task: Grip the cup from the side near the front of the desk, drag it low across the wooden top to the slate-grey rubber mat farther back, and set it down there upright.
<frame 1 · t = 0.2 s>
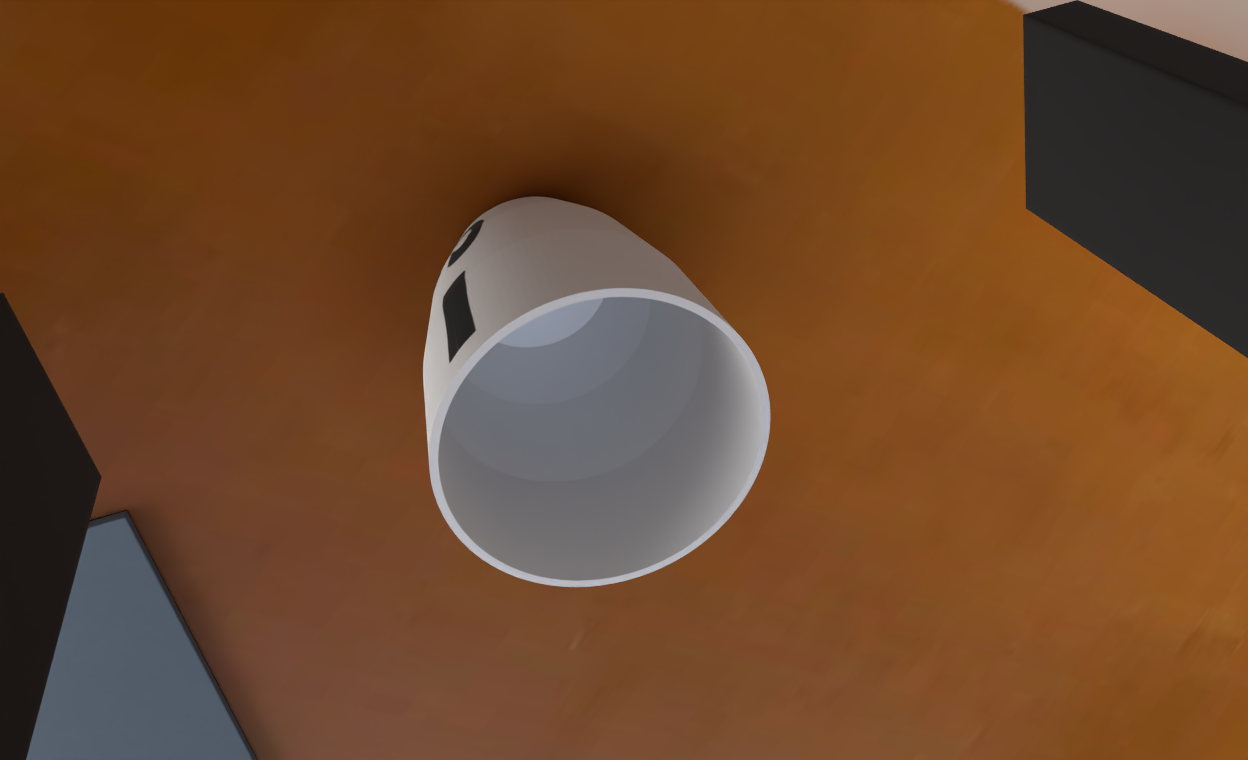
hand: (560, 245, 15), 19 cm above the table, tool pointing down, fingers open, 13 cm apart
cup: (532, 272, 36), on the table
mat: (32, 723, 39), on the table
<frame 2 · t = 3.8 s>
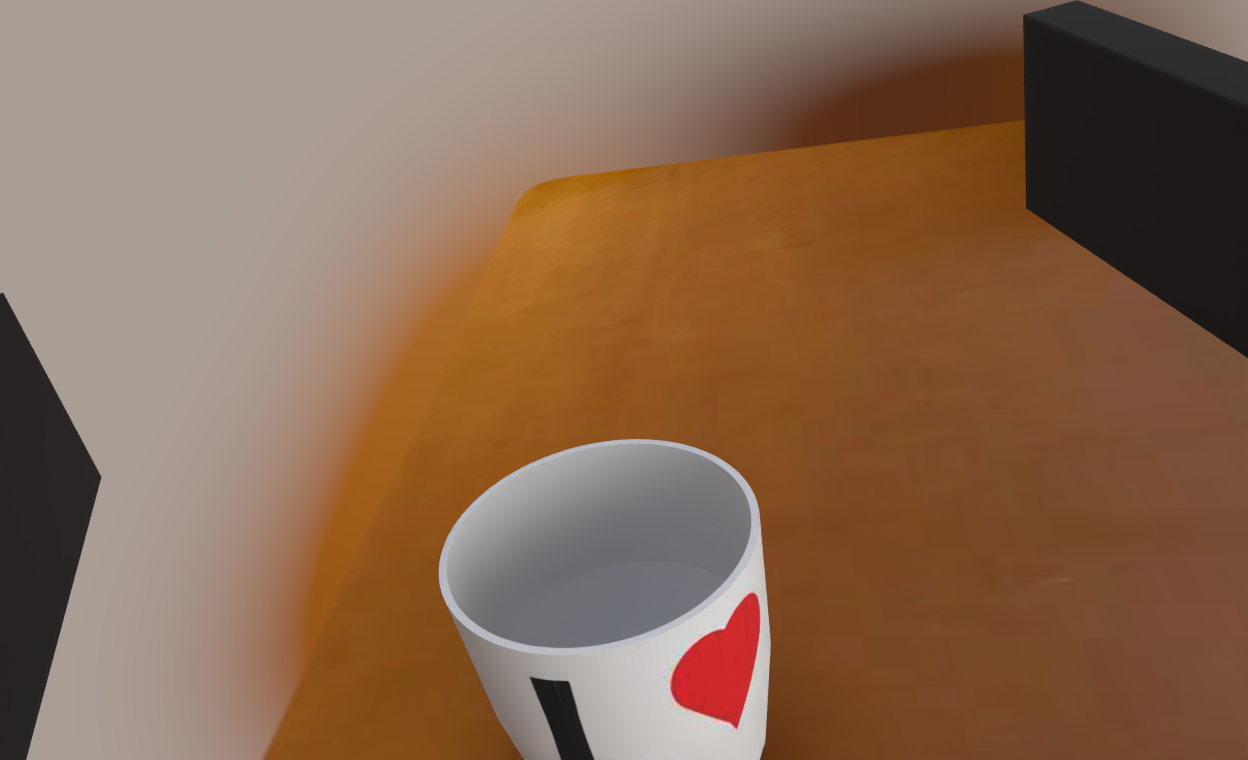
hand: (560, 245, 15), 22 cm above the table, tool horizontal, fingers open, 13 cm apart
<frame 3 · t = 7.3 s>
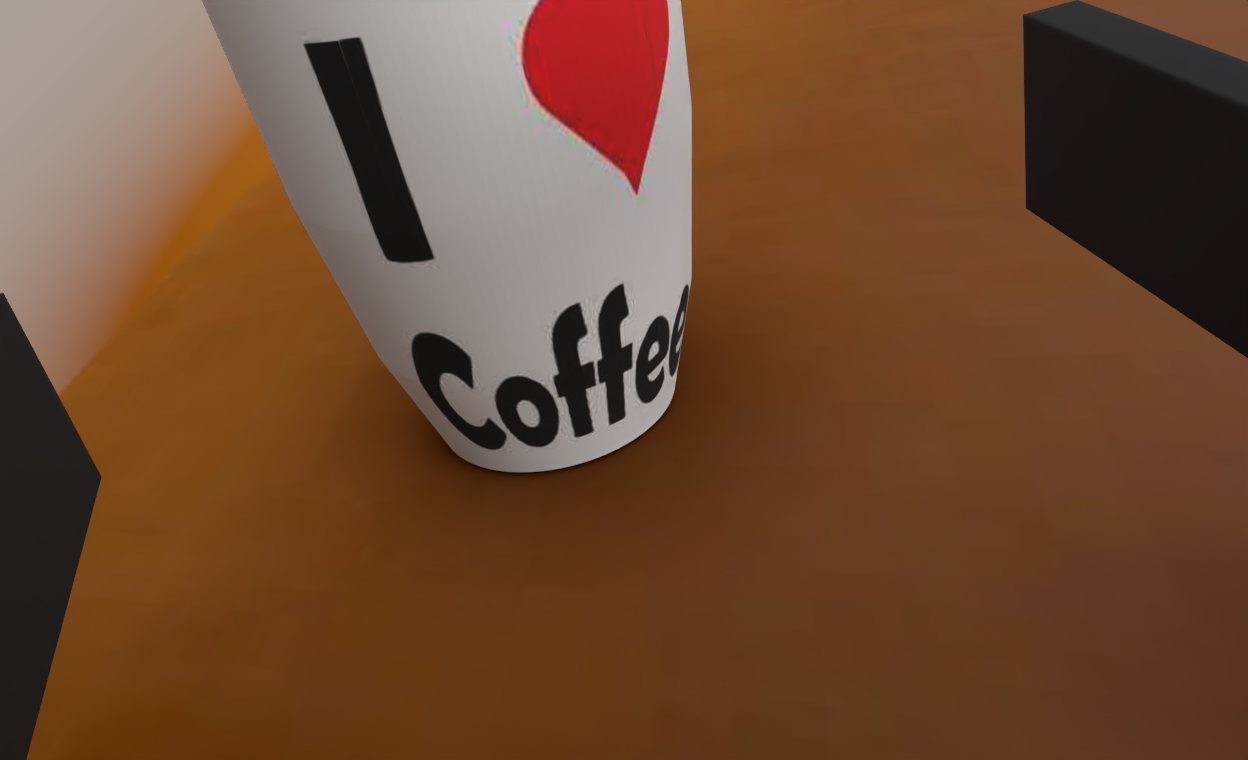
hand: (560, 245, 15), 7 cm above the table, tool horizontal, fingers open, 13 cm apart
cup: (560, 407, 25), on the table
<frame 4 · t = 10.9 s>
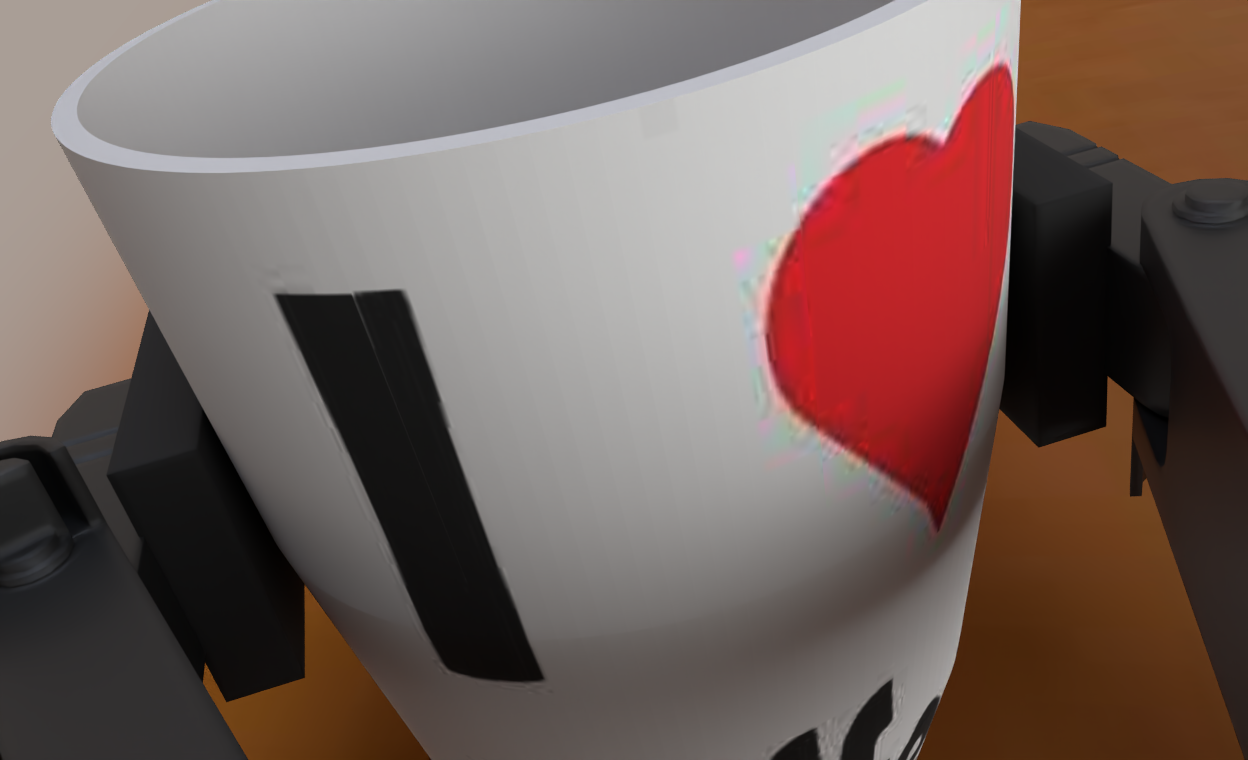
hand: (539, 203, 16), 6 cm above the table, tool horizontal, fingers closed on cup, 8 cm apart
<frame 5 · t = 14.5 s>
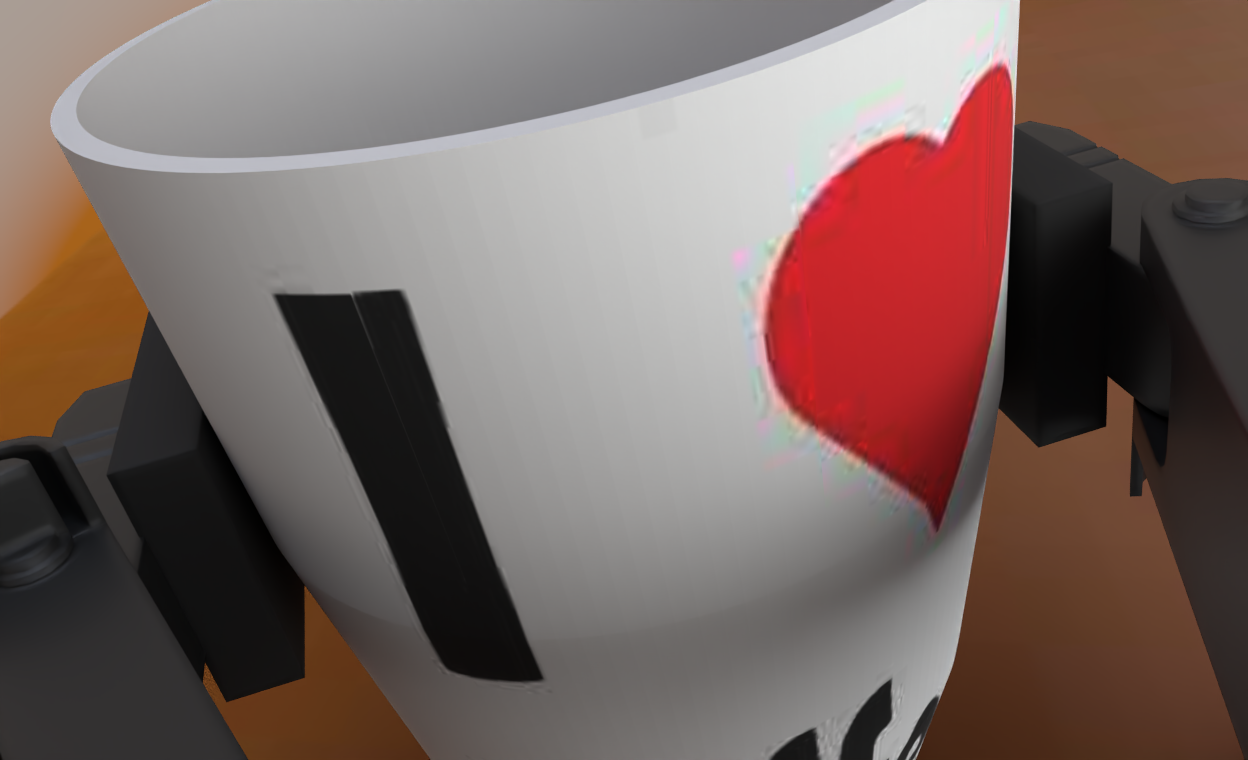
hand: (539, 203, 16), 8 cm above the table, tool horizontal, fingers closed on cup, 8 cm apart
when the fingers open (6 cm above the table, at t = 18.3 s): cup stays where it is, resting on mat.
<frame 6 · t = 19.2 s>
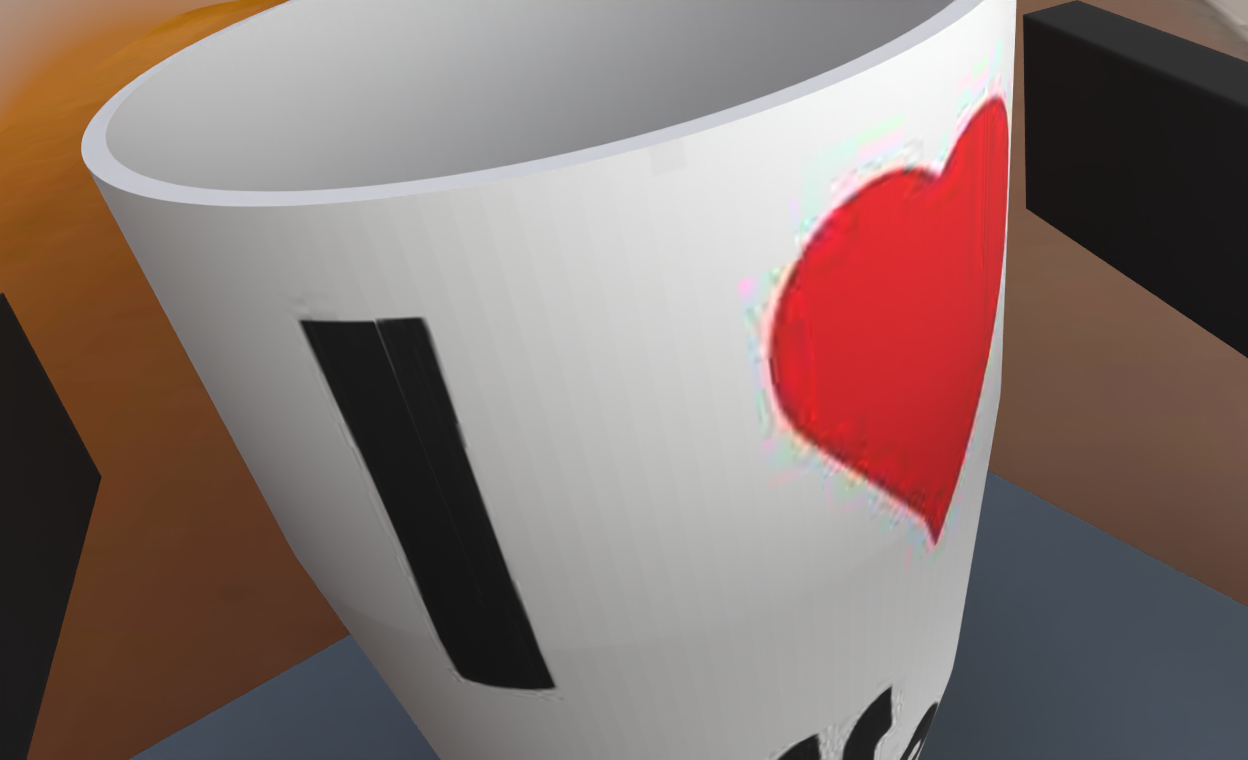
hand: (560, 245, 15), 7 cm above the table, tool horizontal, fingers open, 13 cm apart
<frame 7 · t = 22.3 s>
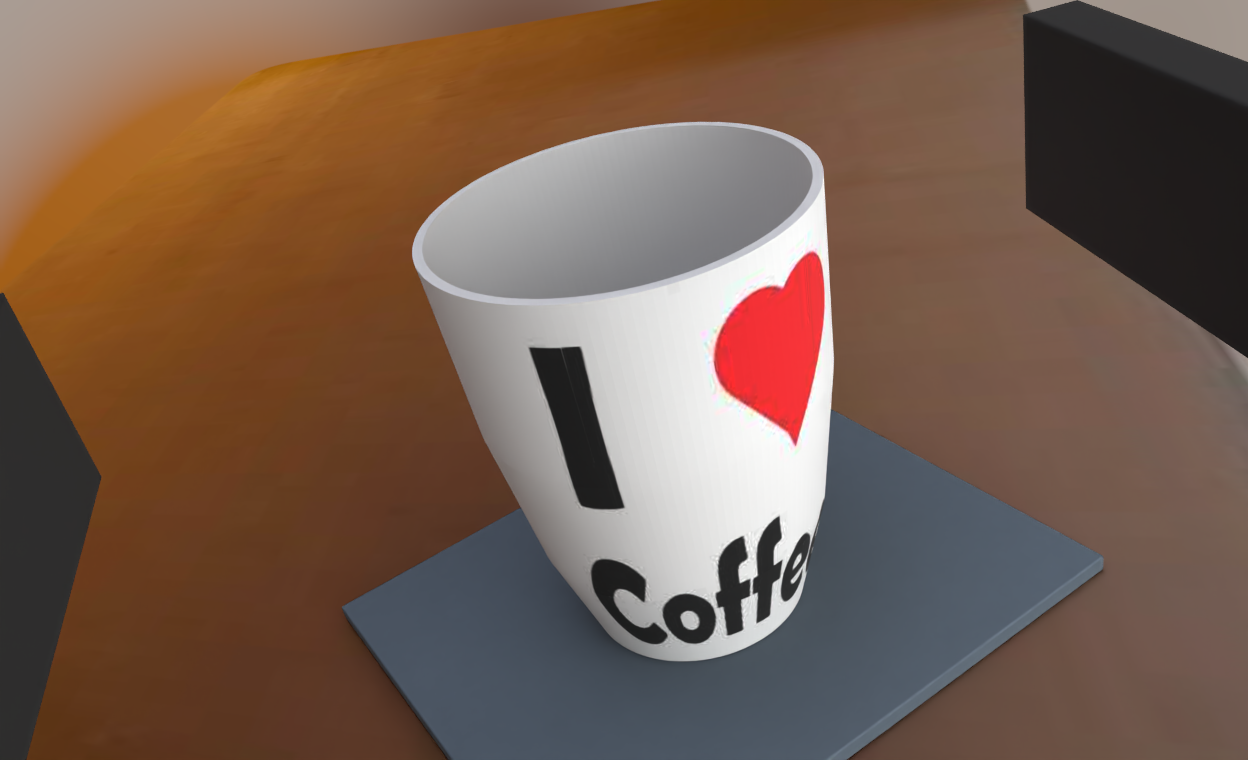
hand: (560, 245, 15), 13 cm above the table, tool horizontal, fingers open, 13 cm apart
cup: (699, 588, 28), resting on mat
mat: (699, 595, 28), on the table
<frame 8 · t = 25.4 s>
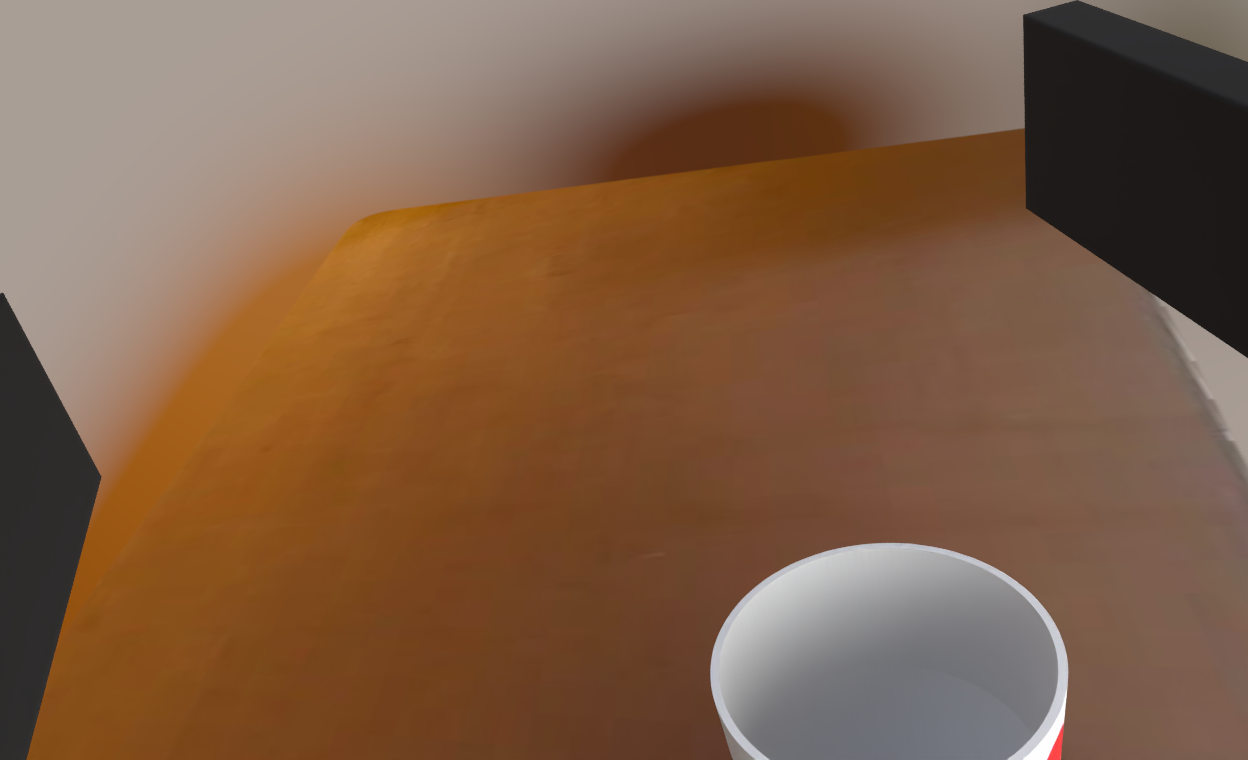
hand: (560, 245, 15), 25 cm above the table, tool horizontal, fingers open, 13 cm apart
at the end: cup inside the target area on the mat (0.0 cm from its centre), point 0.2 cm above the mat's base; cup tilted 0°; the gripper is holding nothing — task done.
